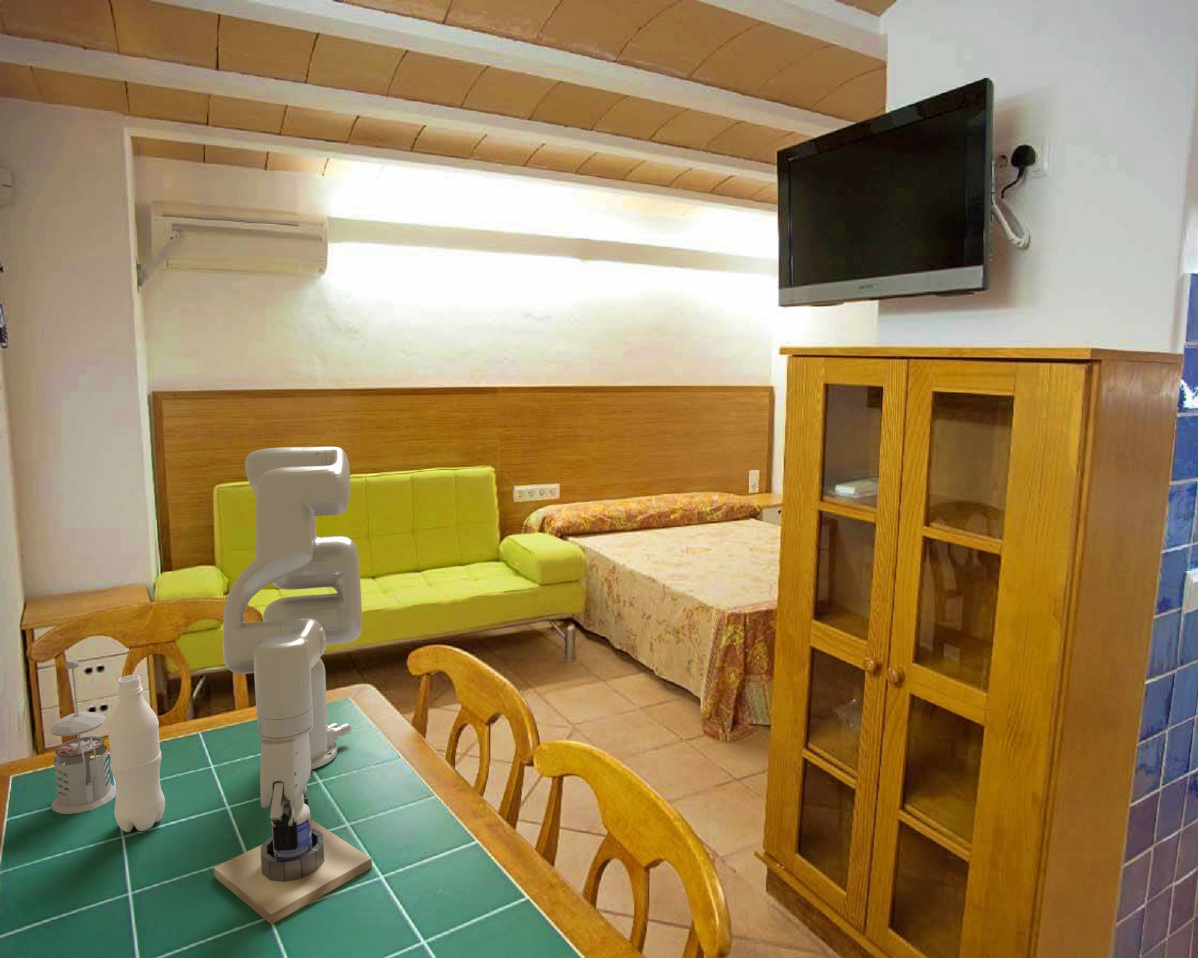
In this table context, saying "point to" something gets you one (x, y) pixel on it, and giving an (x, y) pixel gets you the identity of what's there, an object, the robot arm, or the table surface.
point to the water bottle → (135, 758)
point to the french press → (81, 762)
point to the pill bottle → (298, 831)
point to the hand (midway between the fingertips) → (292, 835)
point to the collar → (292, 861)
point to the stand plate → (290, 896)
